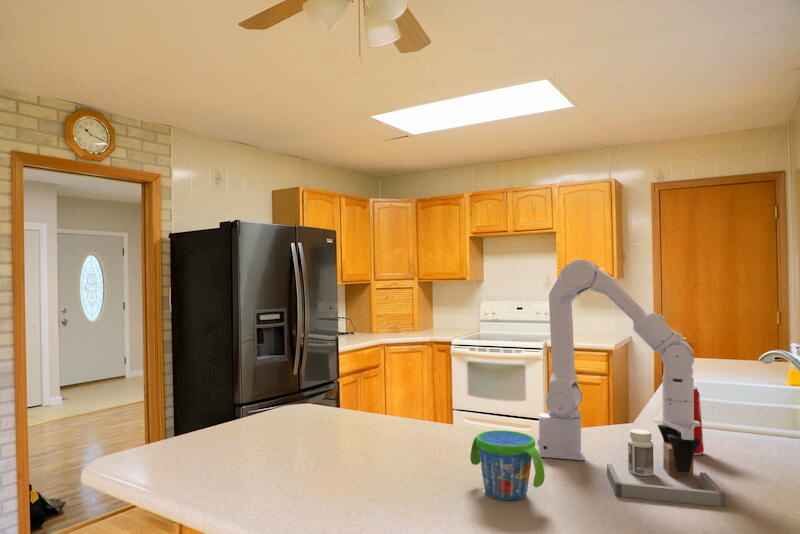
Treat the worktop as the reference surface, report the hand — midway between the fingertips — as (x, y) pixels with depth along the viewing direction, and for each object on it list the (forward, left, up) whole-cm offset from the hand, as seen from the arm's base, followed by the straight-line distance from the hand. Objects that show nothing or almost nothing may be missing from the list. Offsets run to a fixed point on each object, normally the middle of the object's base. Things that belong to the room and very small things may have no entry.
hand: (678, 465), depth 109 cm
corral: (-6, -11, -1) cm, 12 cm away
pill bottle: (-8, -2, -2) cm, 8 cm away
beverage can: (+6, +16, -2) cm, 17 cm away
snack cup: (-34, -21, -2) cm, 40 cm away
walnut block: (0, 0, -2) cm, 2 cm away
